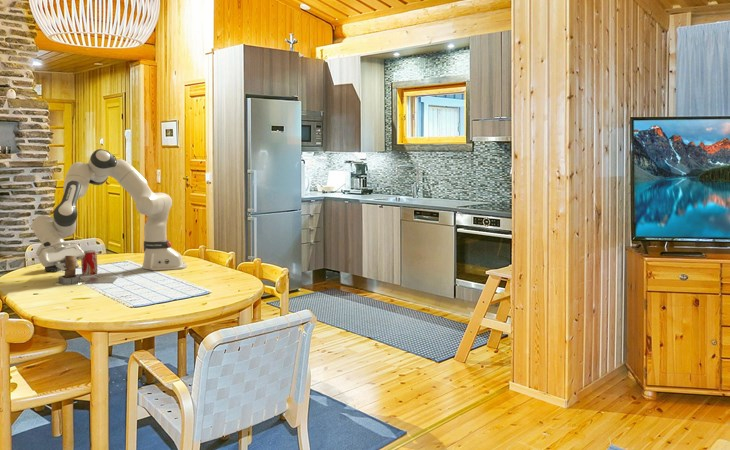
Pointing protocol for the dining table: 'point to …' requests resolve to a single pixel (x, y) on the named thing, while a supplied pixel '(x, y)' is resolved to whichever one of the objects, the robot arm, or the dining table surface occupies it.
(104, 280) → the pad
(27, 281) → the dining table surface
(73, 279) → the ring stand
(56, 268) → the small box
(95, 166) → the robot arm
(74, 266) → the peg
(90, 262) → the soda can
